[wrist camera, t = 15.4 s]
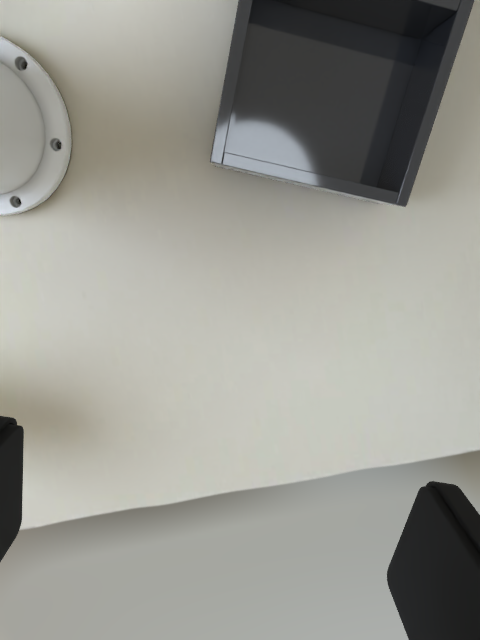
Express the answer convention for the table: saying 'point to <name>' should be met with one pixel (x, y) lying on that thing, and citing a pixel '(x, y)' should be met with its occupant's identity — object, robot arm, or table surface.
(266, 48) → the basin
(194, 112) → the table surface
